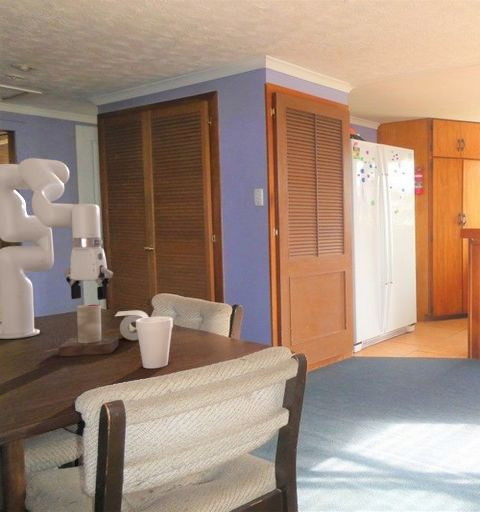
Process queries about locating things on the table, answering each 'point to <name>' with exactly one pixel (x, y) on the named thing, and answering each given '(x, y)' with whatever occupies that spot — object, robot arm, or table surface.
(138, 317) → the toilet paper holder
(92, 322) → the rotary dial knob
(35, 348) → the table surface
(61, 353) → the brown square plate
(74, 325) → the table surface
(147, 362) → the foam cup
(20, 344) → the table surface
